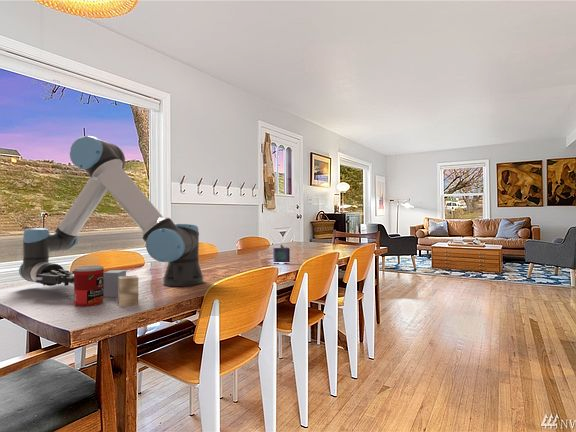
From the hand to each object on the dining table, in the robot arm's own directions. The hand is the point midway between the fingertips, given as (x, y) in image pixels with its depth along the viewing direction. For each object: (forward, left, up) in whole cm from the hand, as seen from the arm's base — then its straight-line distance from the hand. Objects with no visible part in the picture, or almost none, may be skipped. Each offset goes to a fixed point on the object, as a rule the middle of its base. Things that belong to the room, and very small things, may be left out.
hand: (82, 280), depth 106 cm
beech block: (-14, +7, -6) cm, 17 cm away
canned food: (-3, +3, -7) cm, 8 cm away
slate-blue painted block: (-8, -6, -6) cm, 12 cm away
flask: (-82, -62, -7) cm, 103 cm away
